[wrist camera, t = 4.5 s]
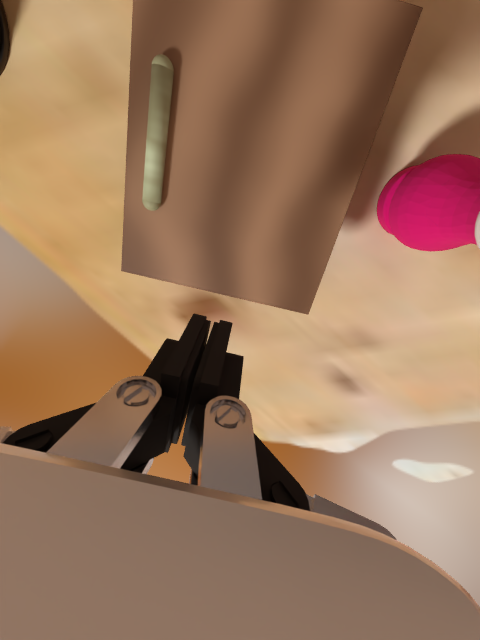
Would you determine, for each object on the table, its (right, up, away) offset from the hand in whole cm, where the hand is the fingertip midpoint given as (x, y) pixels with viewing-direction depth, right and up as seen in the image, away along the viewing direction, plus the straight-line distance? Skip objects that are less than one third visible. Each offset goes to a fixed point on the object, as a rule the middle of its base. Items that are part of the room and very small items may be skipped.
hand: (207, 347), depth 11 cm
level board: (+2, +12, +8) cm, 14 cm away
